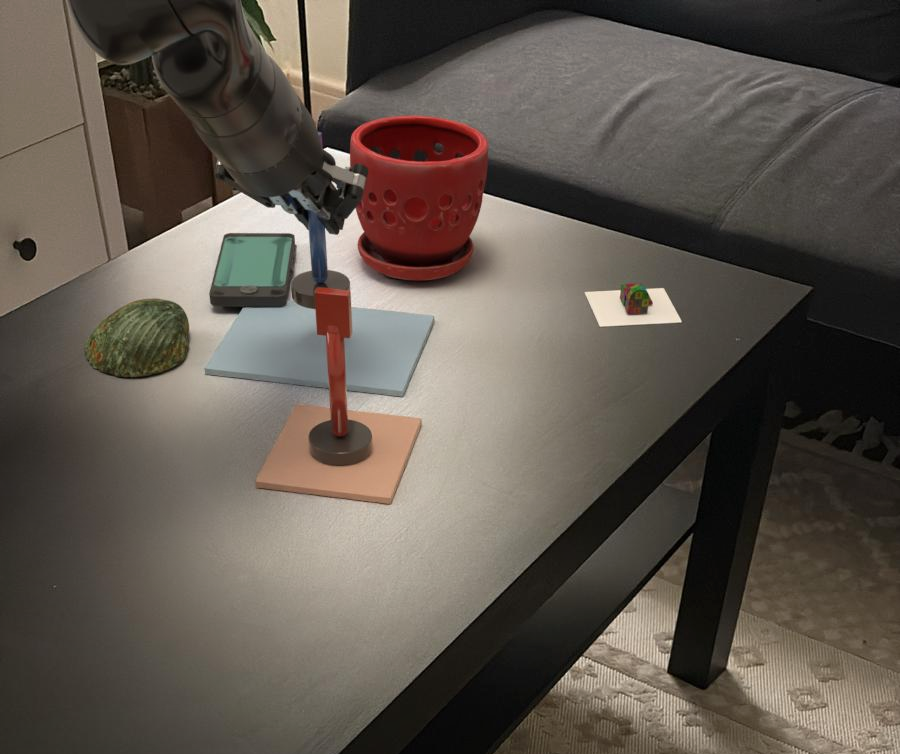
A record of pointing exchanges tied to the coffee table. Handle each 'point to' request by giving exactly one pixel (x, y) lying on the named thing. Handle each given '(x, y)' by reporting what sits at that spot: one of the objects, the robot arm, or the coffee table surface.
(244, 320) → the blue mat
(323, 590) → the coffee table surface
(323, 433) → the red rod on disc
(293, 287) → the blue rod on disc
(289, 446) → the orange mat
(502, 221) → the coffee table surface
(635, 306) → the white paper mat
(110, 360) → the seashell
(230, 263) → the smartphone
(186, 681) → the coffee table surface
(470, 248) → the flower pot
